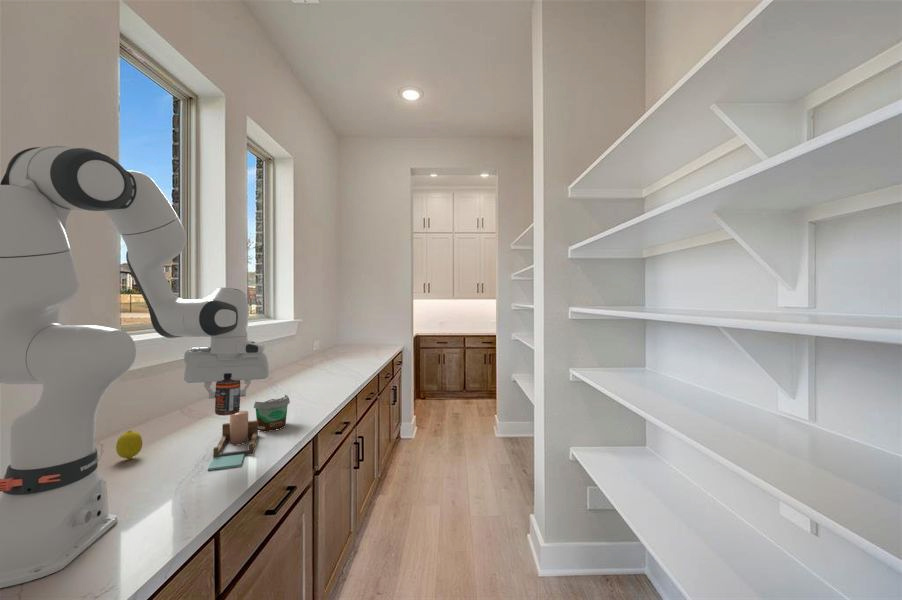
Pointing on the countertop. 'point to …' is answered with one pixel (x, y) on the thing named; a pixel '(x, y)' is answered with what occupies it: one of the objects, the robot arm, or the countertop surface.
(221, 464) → the coaster
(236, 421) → the peach capsule
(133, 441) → the lemon
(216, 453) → the rack
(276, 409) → the food container
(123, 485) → the countertop surface
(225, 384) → the supplement bottle
